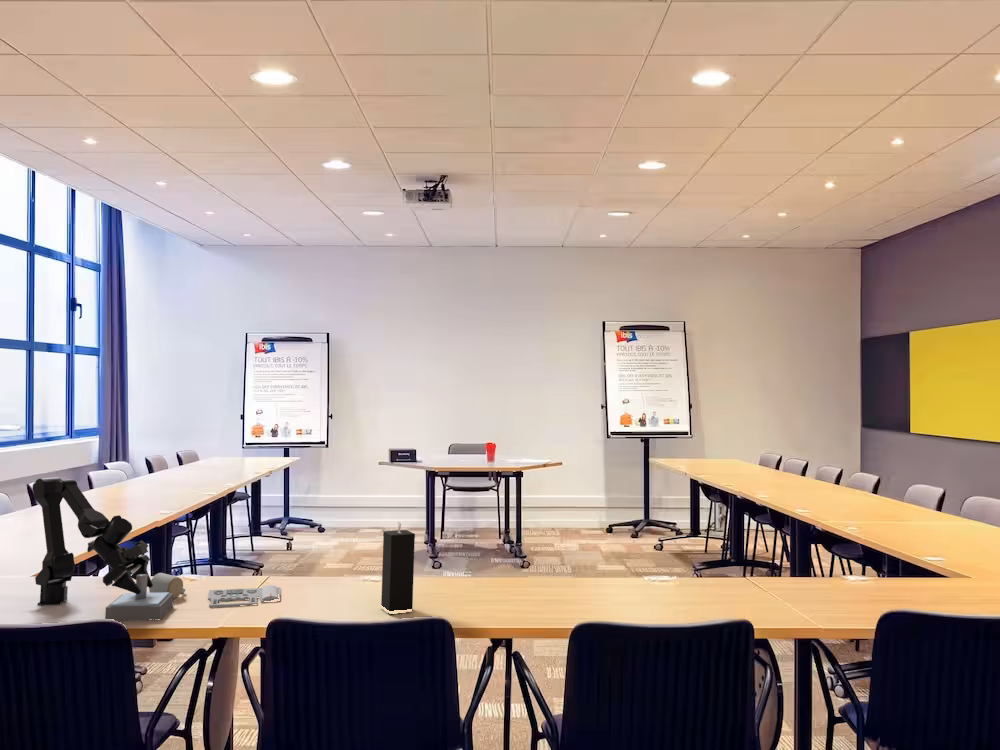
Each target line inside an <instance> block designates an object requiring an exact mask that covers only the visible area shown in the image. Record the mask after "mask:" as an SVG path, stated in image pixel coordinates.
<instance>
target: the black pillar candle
mask: <svg viewBox="0 0 1000 750" xmlns="http://www.w3.org/2000/svg"><path fill="white" fill-rule="evenodd" d="M401 526H402V524H401V522H400V521H397V530H383V532H382V534H383V538H382V539H383V544H382V570H381V571H382V574H381V576H382V577H381V602H380V605H382V606H383V607H385V608H386V609H387V610H389V611H394V610H407V609H412V610H413V604H414V601H413V600H414V599H413V598H414V574H415V573H414V569H415V568H414V567H415V566H414V565H415V539H416V534H415V533H414V532H412V531H409V530H407V529H401Z"/></svg>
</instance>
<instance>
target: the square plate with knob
mask: <svg viewBox="0 0 1000 750" xmlns="http://www.w3.org/2000/svg"><path fill="white" fill-rule="evenodd" d="M135 581H136V582H135V583H136V585H137V586H138V587H139V589H140V590H141V593H140V594H136V593H133V592H125V593H123V595H122V594H121V595H122V596H121V595H120V596H121V597H120V596H118V597H119V598H118V597H117V598H118V599H117V598H116V599H117V600H116V599H115V600H116V601H115V600H113V601H114V602H113V601H112V602H113V603H112V602H111V603H112V604H111V603H110V604H111V607H113V606H158V605H159V604H160V603H161V602H162V601H163V600H164V599H165V598H166V597H167V596H168V595H169V592H162V593H150V592H147V591H148V587H147V574H139V575H137V576H136V580H135Z"/></svg>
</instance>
